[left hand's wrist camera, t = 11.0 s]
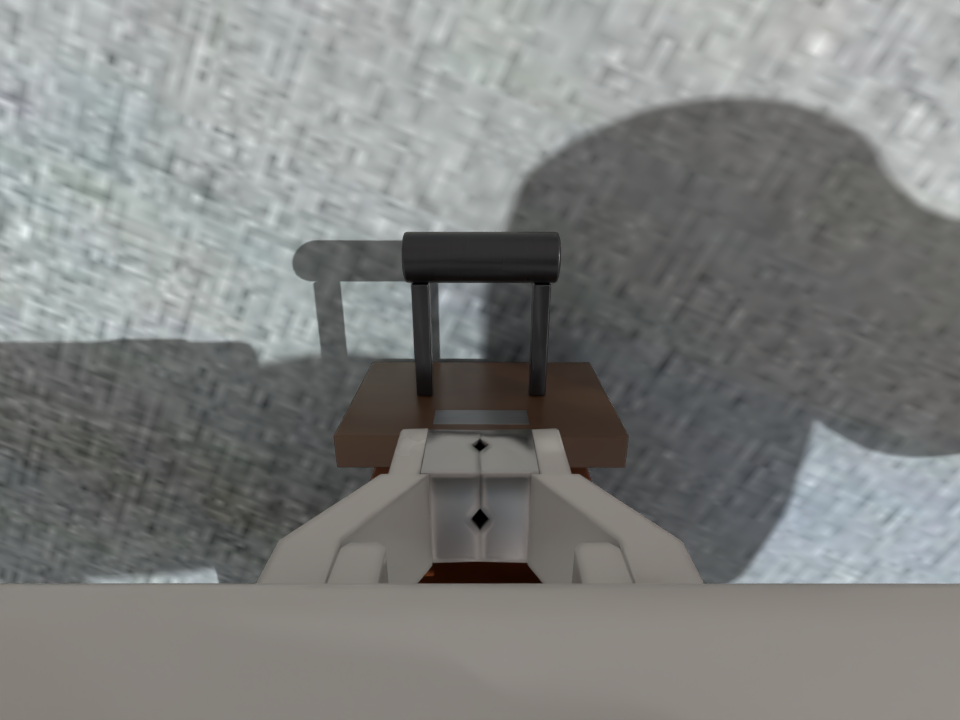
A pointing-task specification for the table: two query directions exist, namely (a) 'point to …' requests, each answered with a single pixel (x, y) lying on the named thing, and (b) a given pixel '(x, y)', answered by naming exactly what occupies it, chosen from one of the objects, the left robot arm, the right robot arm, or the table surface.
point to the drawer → (481, 378)
